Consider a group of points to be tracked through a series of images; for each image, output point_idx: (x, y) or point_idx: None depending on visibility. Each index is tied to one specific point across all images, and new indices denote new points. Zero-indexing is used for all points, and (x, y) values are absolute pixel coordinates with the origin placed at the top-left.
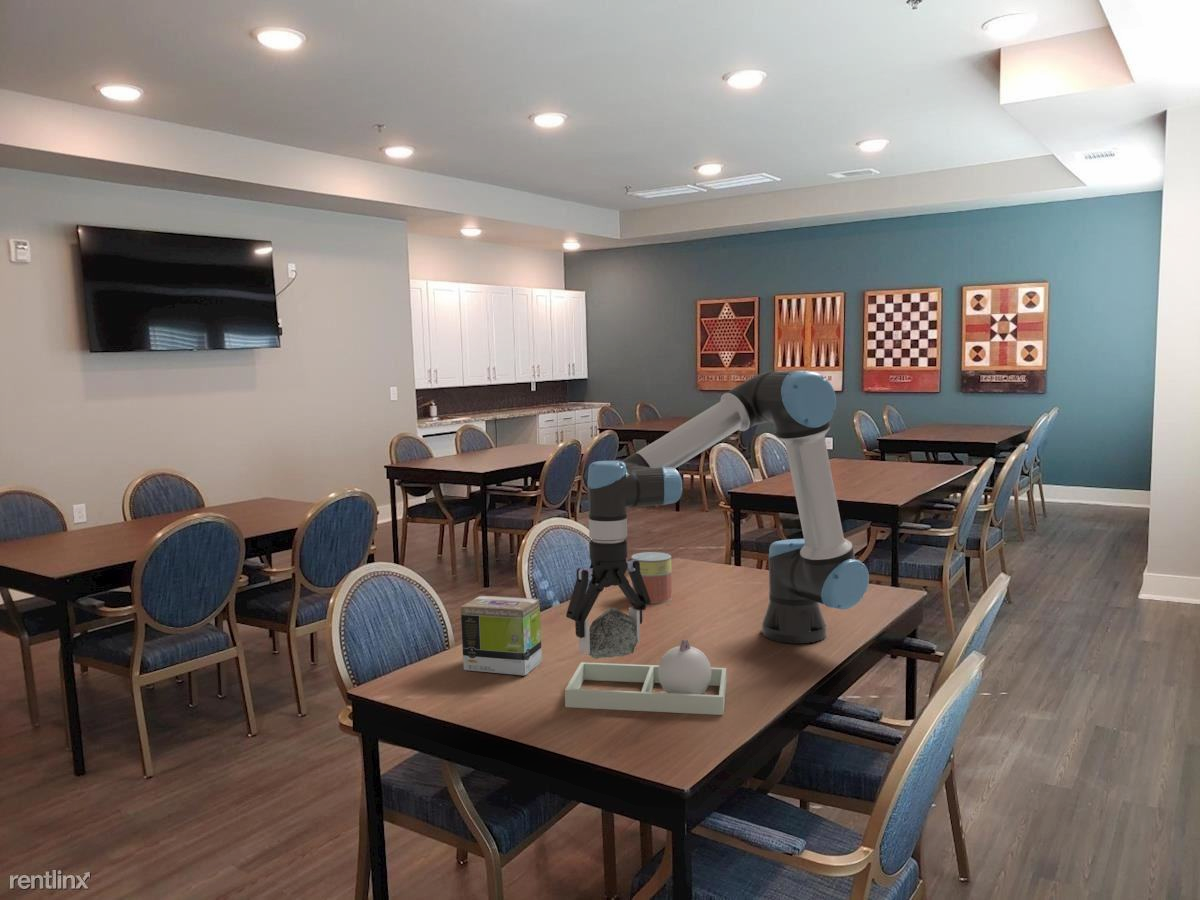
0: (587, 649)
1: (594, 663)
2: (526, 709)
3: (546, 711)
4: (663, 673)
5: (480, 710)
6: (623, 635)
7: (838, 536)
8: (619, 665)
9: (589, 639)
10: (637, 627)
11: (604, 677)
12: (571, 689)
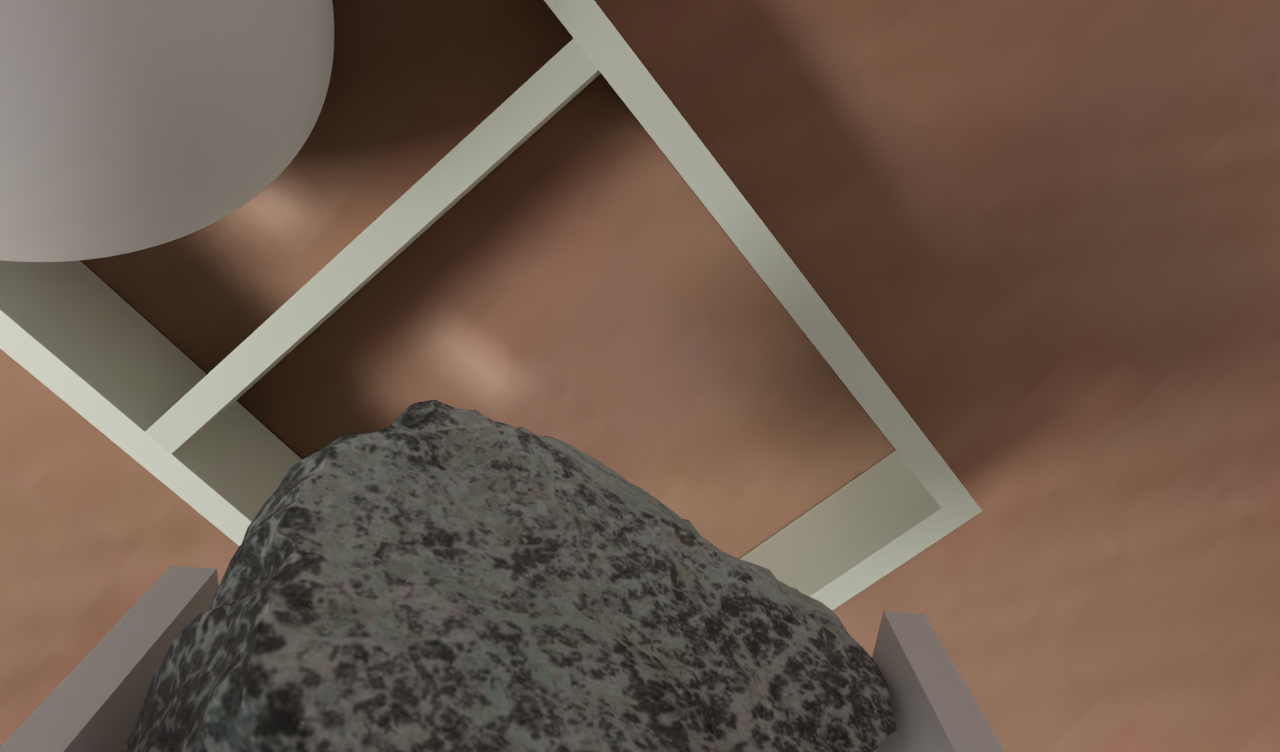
0: (937, 651)
1: None
2: (1094, 568)
3: (1047, 476)
4: (296, 17)
5: (1246, 699)
6: (474, 596)
7: None
8: None
9: (955, 740)
10: (91, 704)
11: None
12: (949, 484)
